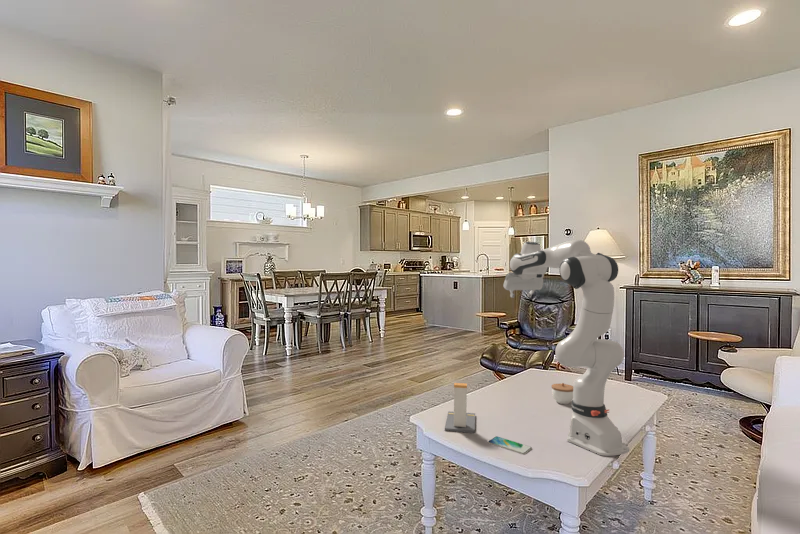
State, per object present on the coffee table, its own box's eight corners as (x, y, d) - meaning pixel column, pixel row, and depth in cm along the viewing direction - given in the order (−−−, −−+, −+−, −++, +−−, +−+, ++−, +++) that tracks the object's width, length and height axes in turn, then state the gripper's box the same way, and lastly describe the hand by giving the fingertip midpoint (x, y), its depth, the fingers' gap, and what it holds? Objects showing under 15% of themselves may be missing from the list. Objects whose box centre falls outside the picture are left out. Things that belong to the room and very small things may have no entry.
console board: (474, 433, 173) (474, 430, 173) (444, 430, 175) (444, 427, 175) (475, 415, 193) (475, 413, 193) (448, 413, 195) (448, 411, 195)
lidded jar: (570, 399, 217) (571, 380, 217) (577, 406, 207) (577, 386, 207) (548, 398, 219) (549, 379, 218) (554, 405, 208) (554, 385, 208)
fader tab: (466, 427, 176) (466, 385, 176) (453, 426, 177) (454, 384, 177) (466, 424, 179) (467, 383, 179) (453, 423, 180) (454, 382, 180)
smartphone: (524, 453, 154) (487, 441, 164) (524, 456, 154) (487, 443, 164) (532, 447, 159) (496, 435, 169) (532, 449, 159) (496, 437, 169)
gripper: (509, 275, 211) (504, 300, 216) (547, 274, 215) (541, 299, 220) (503, 269, 216) (499, 294, 222) (540, 269, 221) (535, 293, 226)
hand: (520, 296), depth 221 cm, fingers open, 8 cm apart
